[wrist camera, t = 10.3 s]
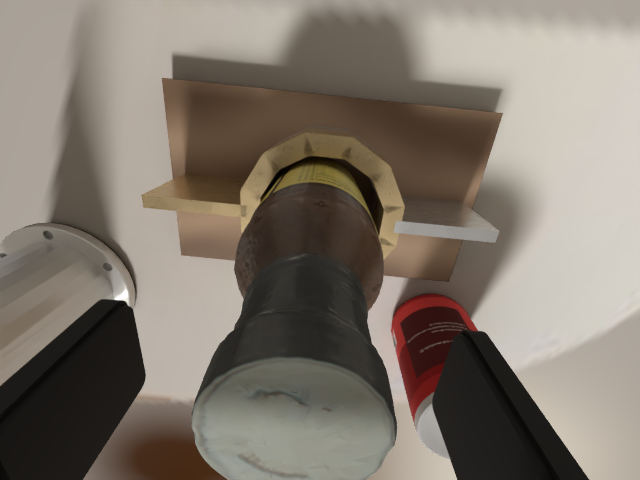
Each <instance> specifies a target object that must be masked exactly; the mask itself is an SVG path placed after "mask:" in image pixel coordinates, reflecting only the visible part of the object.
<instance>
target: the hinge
mask: <svg viewBox="0 0 640 480" xmlns="http://www.w3.org/2000/svg"><path fill="white" fill-rule="evenodd" d="M307 156H319V157H328V158H338V159H345V160H347V161H348V162H349V163H351V164H352V165H353V166H355V167H356V168H357V169H359V170H360V171H361V172H363V173H364V174H365V175H367V176H368V177H369V178H370V181H371V183H372V189H371V195H370V201H369V207H368V210H369V212H370V214H371V217H372V219H373V221H374V224H375V226H376V229H377V232H378V236H379V240H380V244H381V247H382V251H383V259H385V258H386V257H387V256H388V255H389V254H390V253H391V252H392V251H393V249H394V248H395V247H396V245H397V241H398V236H399V233H402V234H412V235H422V236H432V237H442V238H452V239H462V240H472V241H482V242H492V243H496V240H497V237H498V234H499V232H500V231H499V230H498V229H496V228H495V227H494V226H492V225H491V224H490V223H489V222H487V221H486V220H485V219H483V218H482V217H481V216H480V215H478V214H477V213H476V212H474V211H473V210H472V209H471V208H469V207H468V206H467V205H465V204H464V203H463V202H460V201H450V200H440V199H431V198H421V197H411V196H401V194H400V192H399V189H398V186H397V183H396V180H395V178H394V175H393V172H392V169H391V167H390V165H389V164H388V163H387V162H386V161H385V160H384V159H383V158H382V156H381V155H380V154H379V153H378V152H377V151H376V150H375V149H374V148H372V147H371V146H370V145H369V144H367V143H366V142H365V141H363V140H362V139H361V138H360V137H358V136H357V135H356V134H354V133H353V132H352V131H351V130H349V129H348V128H338V127H328V126H318V125H310V126H308V127H306V128H304V129H302V130H300V131H298V132H296V133H294V134H292V135H290V136H288V137H286V138H284V139H282V140H280V141H279V142H277V143H276V144H275V145H273V146H272V147H271V148H269V149H268V150H267V151H265V152H264V153H263V154H262V156H261V157H260V159H259V161H258V162H257V164H256V166H255V167H254V169H253V170H252V172H251V174H250V175H249V177H248V179H247V180H244V179H234V178H224V177H214V176H204V175H194V174H183V175H181V176H179V177H177V178H175V179H173V180H171V181H169V182H167V183H165V184H163V185H161V186H159V187H157V188H155V189H153V190H151V191H149V192H147V193H145V194H143V195H142V201H143V207H144V208H154V209H164V210H174V211H184V212H194V213H204V214H214V215H224V216H233V217H241V232H242V233H243V231H244V229H245V228H246V226H247V225H248V223H249V222H250V220H251V218H252V215H253V213H254V211H255V210H256V208H257V207H258V206H259V204H260V203H261V201H262V200H263V199H264V197H265V196H266V195H267V193H268V192H269V191H270V190H271V188H272V187H273V186H274V184H275V183H276V181H277V174H278V173H279V171H280V170H281V169H282V168H284V167H286V166H288V165H290V164H292V163H294V162H297V161H299V160H301V159H303V158H305V157H307Z"/></svg>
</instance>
